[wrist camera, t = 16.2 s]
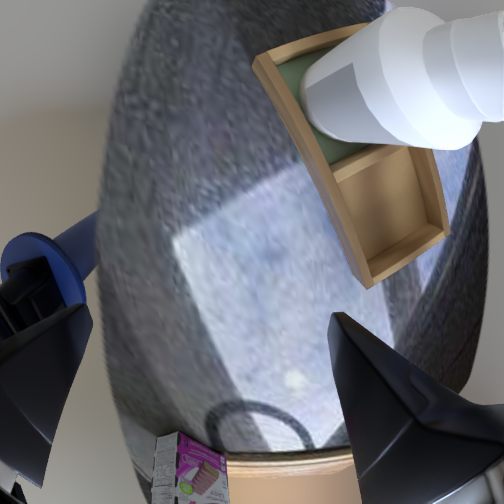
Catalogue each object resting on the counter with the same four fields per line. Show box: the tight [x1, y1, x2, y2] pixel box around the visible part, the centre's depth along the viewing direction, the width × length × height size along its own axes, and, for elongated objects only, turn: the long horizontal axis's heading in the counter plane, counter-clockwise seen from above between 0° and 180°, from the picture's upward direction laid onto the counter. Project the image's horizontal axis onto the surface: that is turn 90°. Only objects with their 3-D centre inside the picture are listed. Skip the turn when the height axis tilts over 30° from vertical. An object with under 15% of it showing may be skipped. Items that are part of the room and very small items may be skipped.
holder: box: [251, 22, 450, 290], centre depth 18 cm, size 10×19×3 cm, turn 29°
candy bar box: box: [150, 431, 230, 504], centre depth 25 cm, size 11×5×16 cm, turn 33°
